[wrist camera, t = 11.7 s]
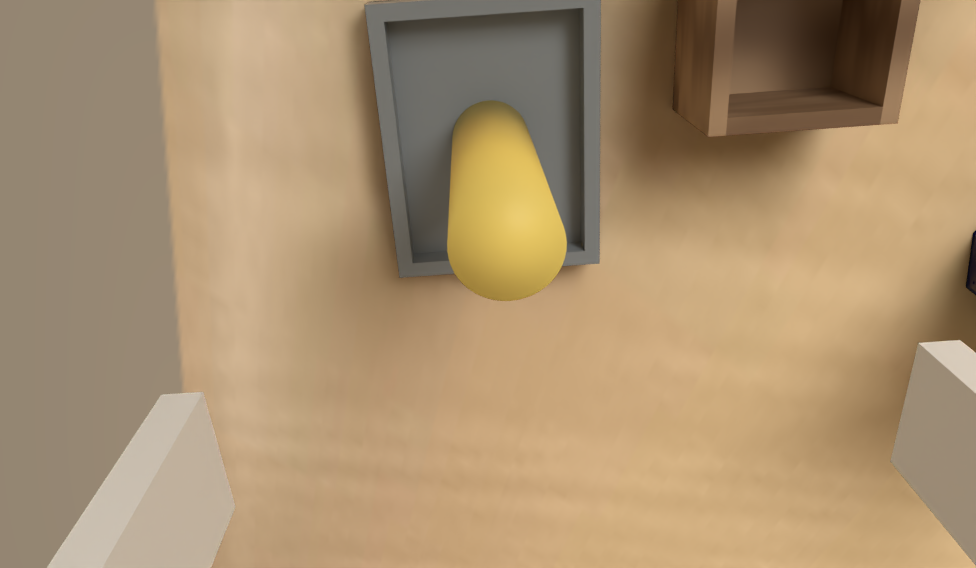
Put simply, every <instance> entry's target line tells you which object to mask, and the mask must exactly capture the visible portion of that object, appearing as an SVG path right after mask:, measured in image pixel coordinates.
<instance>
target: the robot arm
mask: <svg viewBox="0 0 976 568" xmlns="http://www.w3.org/2000/svg"><path fill="white" fill-rule="evenodd" d="M890 462H891V463H892V464H893V465H894V467H895V468H896V469H897V470H898V472H899V473H900V474H901V475H902V476H903V478H904V479H905V480H906V481H907V483H908V484H909V485H910V486H911V487H912V489H913V490H914V491H915V492H916V493H917V495H918V496H919V497H920V498H921V500H922V501H923V502H924V503H925V504H926V506H927V507H928V508H929V509H930V511H931V512H932V513H933V514H934V515H935V517H936V518H937V519H938V520H939V521H940V523H941V524H942V525H943V526H944V528H945V529H946V530H947V531H948V532H949V534H950V535H951V536H952V537H953V539H954V540H955V541H956V542H957V543H958V545H959V546H960V547H961V548H962V549H963V551H964V552H965V553H966V554H967V556H968V557H969V558H970V559H971V560H972V562H973V563H974V564H975V565H976V353H975V352H974V351H973V350H972V349H970V348H969V347H968V346H967V345H965V344H964V343H963V342H962V341H961V340H952V341H938V342H923V343H918V346H917V350H916V355H915V359H914V363H913V367H912V372H911V376H910V380H909V384H908V389H907V393H906V397H905V401H904V406H903V410H902V414H901V418H900V423H899V427H898V431H897V436H896V440H895V444H894V448H893V453H892V457H891V461H890ZM234 509H235V503H234V500H233V496H232V493H231V489H230V485H229V482H228V478H227V475H226V471H225V468H224V464H223V461H222V457H221V453H220V450H219V446H218V443H217V439H216V436H215V432H214V428H213V425H212V421H211V418H210V414H209V411H208V407H207V403H206V400H205V396H204V393H203V392H193V393H179V394H165V395H161V396H160V398H159V399H158V401H157V402H156V404H155V406H154V407H153V408H152V410H151V411H150V413H149V414H148V416H147V417H146V419H145V420H144V422H143V423H142V425H141V426H140V428H139V429H138V431H137V432H136V434H135V435H134V437H133V438H132V440H131V442H130V443H129V444H128V446H127V447H126V449H125V450H124V452H123V453H122V455H121V456H120V458H119V459H118V461H117V462H116V464H115V465H114V467H113V469H112V470H111V472H110V473H109V474H108V476H107V477H106V479H105V481H104V482H103V484H102V485H101V487H100V488H99V490H98V491H97V493H96V494H95V496H94V497H93V499H92V500H91V502H90V503H89V505H88V506H87V508H86V509H85V511H84V512H83V514H82V515H81V517H80V518H79V520H78V521H77V523H76V524H75V526H74V527H73V529H72V531H71V532H70V533H69V535H68V536H67V538H66V539H65V541H64V542H63V544H62V545H61V547H60V548H59V550H58V552H57V553H56V555H55V556H54V558H53V559H52V561H51V562H50V564H49V565H48V566H47V568H211V567H212V564H213V562H214V559H215V557H216V554H217V552H218V549H219V547H220V544H221V542H222V539H223V537H224V534H225V532H226V529H227V527H228V524H229V522H230V519H231V517H232V514H233V512H234Z"/></svg>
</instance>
